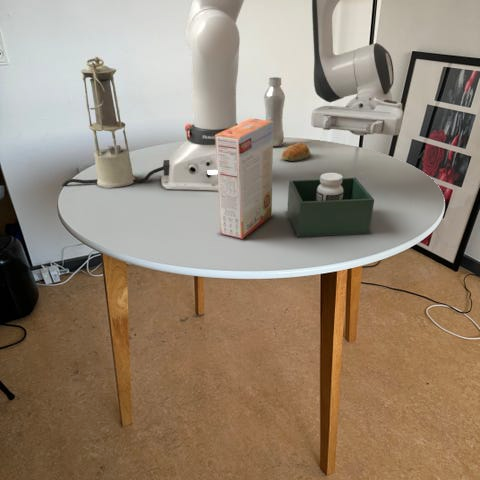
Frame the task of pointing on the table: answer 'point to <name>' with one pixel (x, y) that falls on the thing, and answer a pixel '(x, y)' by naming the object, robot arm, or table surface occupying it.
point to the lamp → (107, 127)
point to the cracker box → (244, 176)
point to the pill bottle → (330, 187)
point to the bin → (329, 209)
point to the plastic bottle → (275, 109)
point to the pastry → (296, 152)
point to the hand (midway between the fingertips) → (347, 128)
